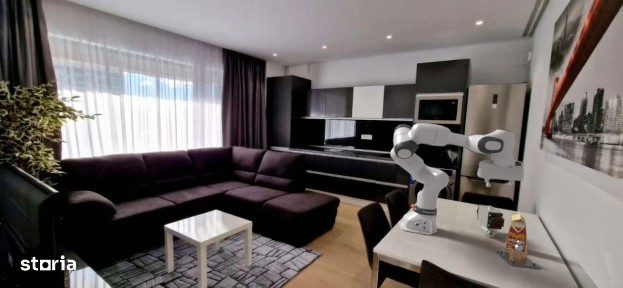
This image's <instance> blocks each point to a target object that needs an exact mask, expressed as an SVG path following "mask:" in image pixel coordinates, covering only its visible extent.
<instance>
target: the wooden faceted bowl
mask: <svg viewBox="0 0 623 288" xmlns="http://www.w3.org/2000/svg"><path fill="white" fill-rule="evenodd" d="M514 248H515V246H510V247H509V249H508V252H509V258H511V259H512V260H514V261H518V262H526V259H527V257H528V249H527V250H526V249H524V248H523V250H522V252H521V251H517V250H515V249H514Z"/></svg>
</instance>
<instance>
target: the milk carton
mask: <svg viewBox="0 0 623 288" xmlns="http://www.w3.org/2000/svg"><path fill="white" fill-rule="evenodd" d="M527 234H528V233H527V222H526V219H525V217H524V216H523V215H521V211H518V214H512V215H511V219H510V226H509V229H508V234H507V236H506V239H505V242H504V247H503V248H504V249H506V250H509V247H510V246H515V244H516V243H517V240H520V241H522V244H521V245H523V248H524V249H526V250H527V251H528V235H527Z"/></svg>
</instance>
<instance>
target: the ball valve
mask: <svg viewBox="0 0 623 288" xmlns="http://www.w3.org/2000/svg"><path fill="white" fill-rule="evenodd" d="M477 205H478V207H477V209H476V213H477V214H476V215H477V216H476V220H478V222H480V223H481V224H482V225H481V226H480V229H481V230H480V231H481V232H482V233H484V234H485V236H487V237H489V238H494V237H495V236H498V234H499V231H498V230H502V228H504V225H505V218H504V213H502V212H501V210H499V209H498V208H496V207H493V206H492V205H488V204H487V205H485V204H477Z"/></svg>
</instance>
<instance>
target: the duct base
mask: <svg viewBox="0 0 623 288" xmlns="http://www.w3.org/2000/svg"><path fill="white" fill-rule="evenodd" d="M521 244H522V241H520V240H517V243H516V244H515V248H514V249H515V250H517V251H521V252H522V250H523V245H521ZM497 253H498V254H499V257H500V258H502V259H503V260H504V261H505V260H506V261H507V262H506V261H505V262H506V263H507V264H508V265H509V266H511V267H516V266H517V267H519V268H527V269H535V270H536V269H537V270H541V266H540V265H538V264H537V263H535V262H534V261H533V260H532V259H530V258H529V257H528V256H527V259H526V262H518V261H514V260H512V259H511V258H509V251H500V250H496V254H497ZM498 254H497V255H498Z"/></svg>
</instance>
